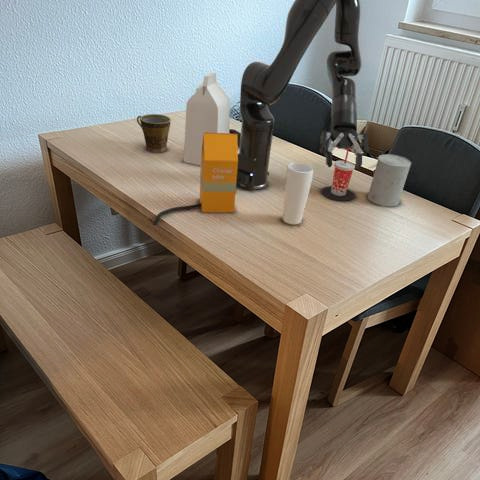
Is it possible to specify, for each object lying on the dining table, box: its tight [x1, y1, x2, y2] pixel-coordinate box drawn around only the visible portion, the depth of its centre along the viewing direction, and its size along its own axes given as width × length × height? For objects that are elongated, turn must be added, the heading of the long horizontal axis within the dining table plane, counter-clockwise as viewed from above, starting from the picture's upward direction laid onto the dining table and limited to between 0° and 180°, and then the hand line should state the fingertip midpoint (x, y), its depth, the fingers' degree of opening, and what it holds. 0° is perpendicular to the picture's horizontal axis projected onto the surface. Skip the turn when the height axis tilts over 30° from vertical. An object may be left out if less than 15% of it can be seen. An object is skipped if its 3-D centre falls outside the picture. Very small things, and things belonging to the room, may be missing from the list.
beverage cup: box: [331, 147, 356, 196], centre depth 142 cm, size 6×6×14 cm
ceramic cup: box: [136, 113, 172, 153], centre depth 160 cm, size 13×10×10 cm
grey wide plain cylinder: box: [367, 153, 412, 208], centre depth 142 cm, size 10×10×12 cm
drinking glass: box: [281, 162, 314, 226], centre depth 125 cm, size 7×7×15 cm
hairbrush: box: [229, 128, 241, 148], centre depth 174 cm, size 8×4×25 cm
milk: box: [183, 71, 231, 166], centre depth 151 cm, size 12×12×26 cm
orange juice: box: [199, 133, 239, 213], centre depth 127 cm, size 8×9×20 cm
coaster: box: [321, 185, 355, 202], centre depth 146 cm, size 10×10×1 cm
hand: (344, 167), depth 141 cm, fingers open, 8 cm apart
